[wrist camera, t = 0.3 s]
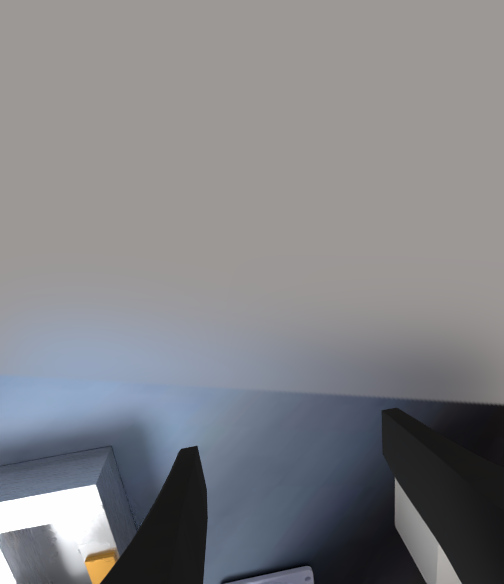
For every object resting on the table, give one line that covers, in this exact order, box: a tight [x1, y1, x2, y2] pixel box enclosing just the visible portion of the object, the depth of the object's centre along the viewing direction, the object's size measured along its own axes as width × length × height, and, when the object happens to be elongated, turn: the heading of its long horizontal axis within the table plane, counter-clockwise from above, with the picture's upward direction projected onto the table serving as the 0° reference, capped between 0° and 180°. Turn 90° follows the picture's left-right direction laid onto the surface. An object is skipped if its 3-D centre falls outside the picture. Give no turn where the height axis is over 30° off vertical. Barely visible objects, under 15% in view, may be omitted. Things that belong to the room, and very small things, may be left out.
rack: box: [0, 446, 137, 584], centre depth 22 cm, size 14×16×5 cm
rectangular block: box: [395, 478, 462, 584], centre depth 25 cm, size 8×3×6 cm, turn 8°
